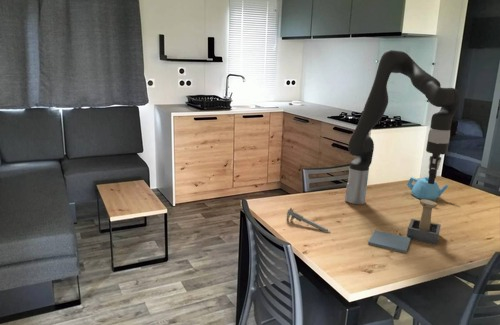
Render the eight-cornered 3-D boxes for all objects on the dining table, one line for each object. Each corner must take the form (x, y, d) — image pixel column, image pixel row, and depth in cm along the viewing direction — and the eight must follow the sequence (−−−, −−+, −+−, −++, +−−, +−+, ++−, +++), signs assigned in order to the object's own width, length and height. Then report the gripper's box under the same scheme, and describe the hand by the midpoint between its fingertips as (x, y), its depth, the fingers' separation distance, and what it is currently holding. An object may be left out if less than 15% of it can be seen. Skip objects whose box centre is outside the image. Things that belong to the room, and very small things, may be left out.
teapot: (429, 191, 224) (432, 172, 221) (447, 201, 210) (450, 181, 207) (404, 192, 221) (407, 173, 219) (420, 201, 207) (423, 181, 204)
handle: (426, 240, 162) (432, 205, 158) (412, 234, 167) (417, 200, 164) (433, 238, 165) (439, 203, 161) (419, 232, 170) (424, 198, 166)
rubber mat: (368, 244, 157) (368, 241, 157) (374, 232, 169) (375, 229, 168) (406, 253, 151) (406, 250, 151) (410, 240, 162) (410, 237, 162)
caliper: (286, 221, 177) (287, 207, 176) (287, 220, 178) (288, 206, 176) (329, 233, 166) (330, 219, 164) (330, 233, 167) (331, 218, 165)
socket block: (406, 238, 164) (407, 228, 163) (410, 228, 174) (411, 218, 172) (437, 245, 159) (438, 234, 158) (439, 234, 169) (440, 224, 167)
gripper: (429, 136, 164) (423, 175, 168) (425, 142, 151) (419, 183, 156) (449, 138, 160) (443, 178, 164) (448, 145, 148) (441, 187, 152)
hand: (431, 180), depth 160 cm, fingers open, 8 cm apart
